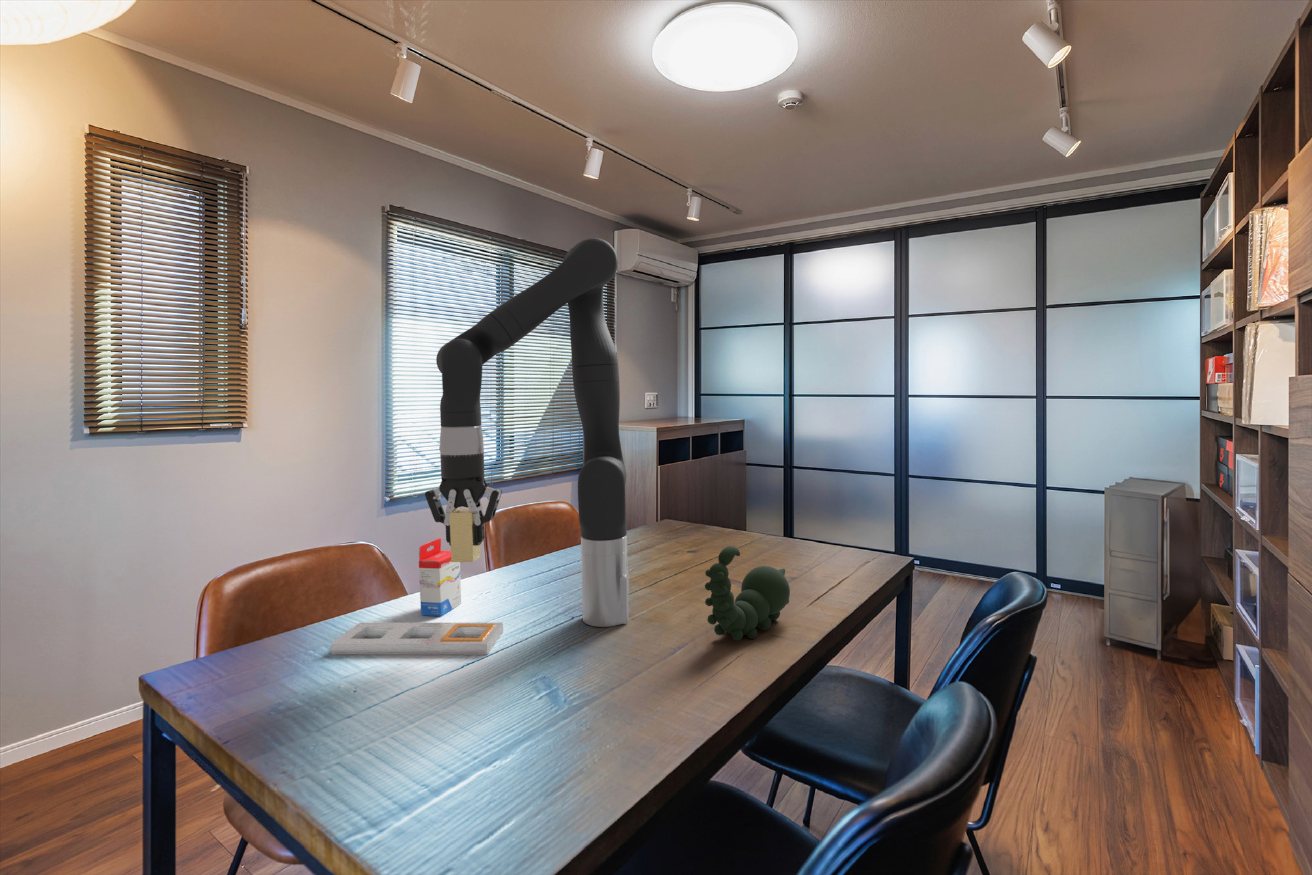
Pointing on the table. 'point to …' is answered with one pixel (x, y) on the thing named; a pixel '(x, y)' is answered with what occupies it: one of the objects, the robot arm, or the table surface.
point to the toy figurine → (745, 597)
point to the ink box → (438, 580)
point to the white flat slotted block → (400, 641)
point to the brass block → (463, 537)
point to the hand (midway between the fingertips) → (465, 544)
